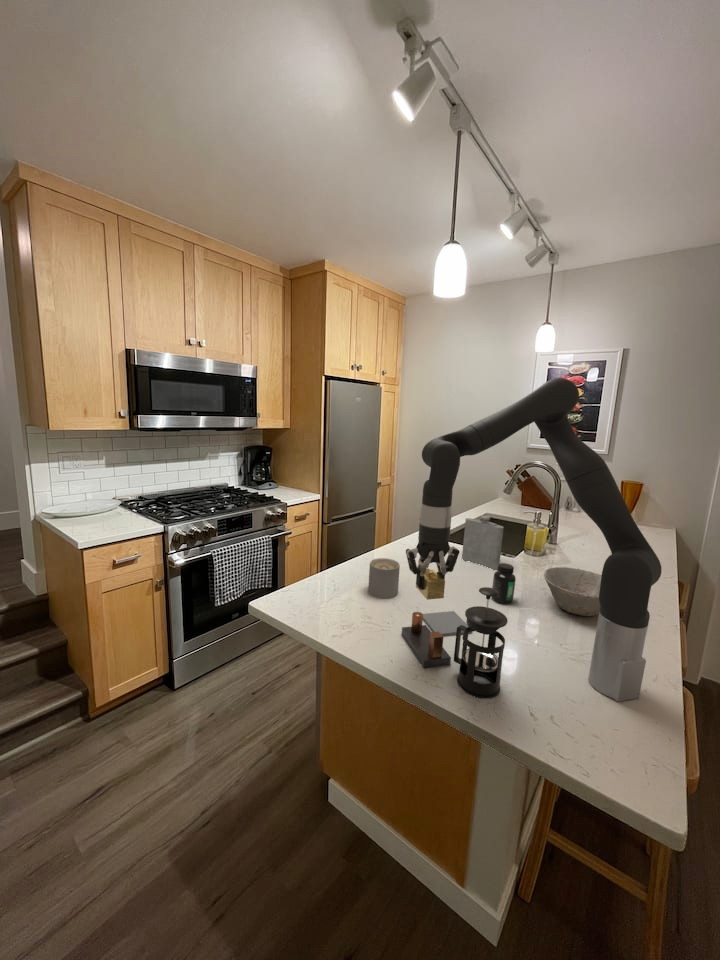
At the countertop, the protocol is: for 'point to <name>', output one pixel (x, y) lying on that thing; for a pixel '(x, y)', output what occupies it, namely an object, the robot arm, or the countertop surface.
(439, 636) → the hand plane
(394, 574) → the coffee mug
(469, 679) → the french press
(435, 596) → the lever cap
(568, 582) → the ceramic bowl
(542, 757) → the countertop surface
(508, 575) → the supplement bottle
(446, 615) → the rubber mat
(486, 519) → the notched spreader
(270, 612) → the countertop surface
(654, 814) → the countertop surface
